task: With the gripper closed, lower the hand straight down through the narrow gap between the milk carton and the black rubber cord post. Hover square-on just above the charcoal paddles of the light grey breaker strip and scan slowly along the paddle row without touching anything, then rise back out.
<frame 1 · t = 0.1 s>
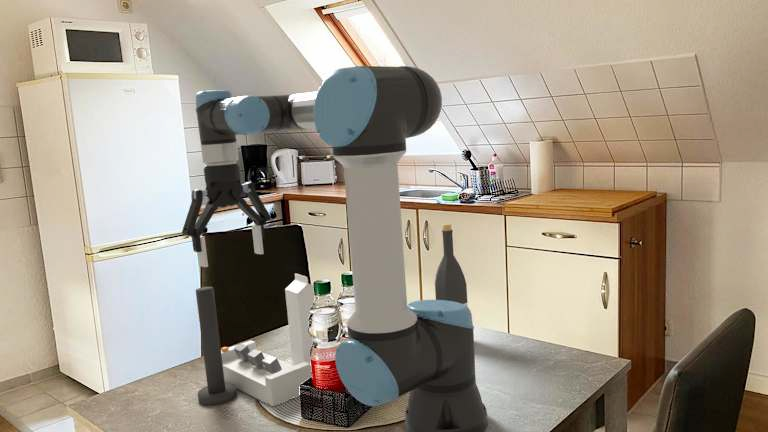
hand: (232, 259, 141), 28 cm above the table, fingers open, 13 cm apart
breaker strip: (262, 383, 143), on the table
wine bottle: (453, 343, 159), on the table
milk: (309, 366, 151), on the table
cord post: (217, 397, 138), on the table
paddle bank: (257, 359, 141), point 6 cm above the table, hinge at -20.0°
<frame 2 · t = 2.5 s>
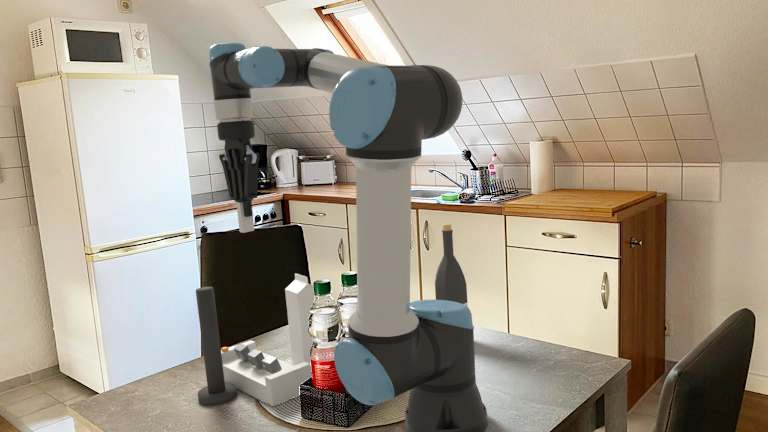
hand: (246, 231, 137), 35 cm above the table, fingers closed
nothing on the table moved.
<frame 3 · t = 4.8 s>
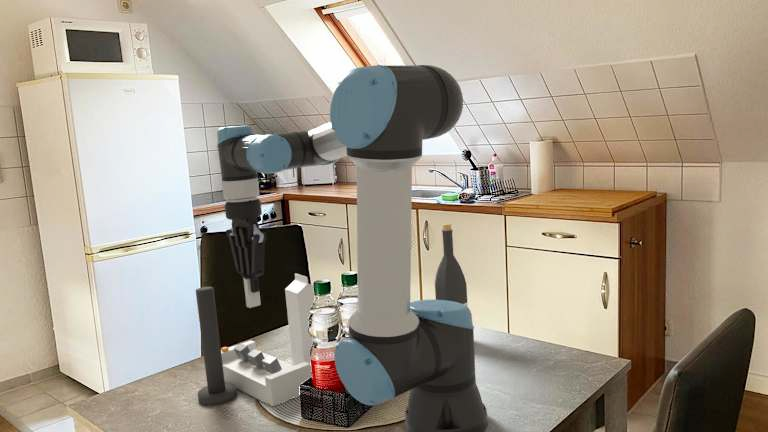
hand: (253, 305, 140), 18 cm above the table, fingers closed
nothing on the table moved.
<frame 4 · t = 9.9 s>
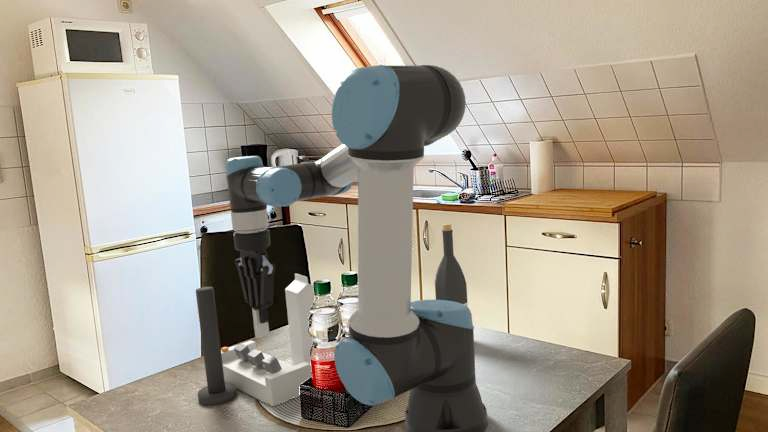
hand: (262, 335, 139), 12 cm above the table, fingers closed
nothing on the table moved.
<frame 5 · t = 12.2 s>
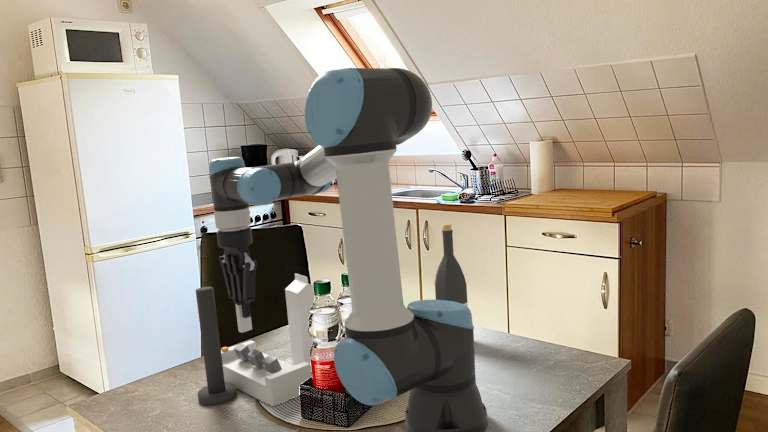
hand: (245, 330, 145), 11 cm above the table, fingers closed
nothing on the table moved.
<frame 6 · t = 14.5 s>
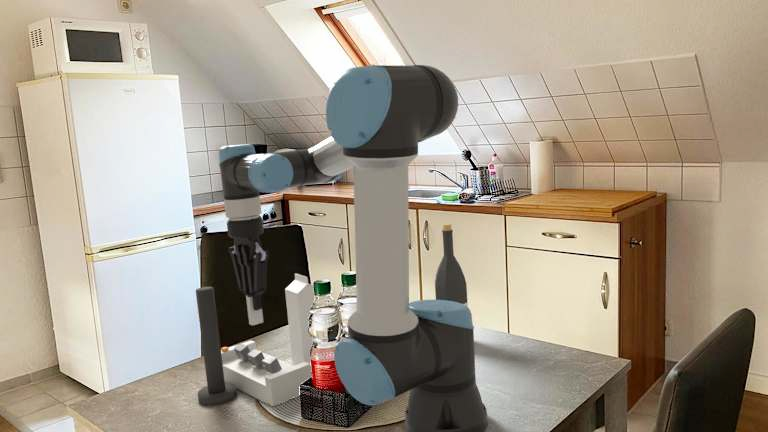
hand: (256, 323, 140), 14 cm above the table, fingers closed
nothing on the table moved.
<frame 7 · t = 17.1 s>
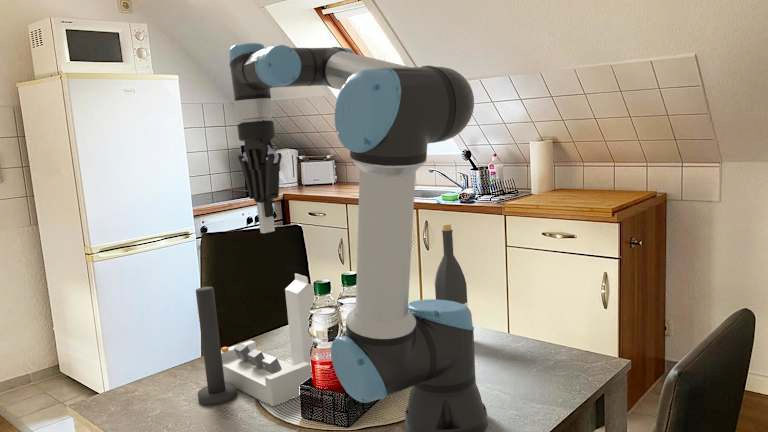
hand: (267, 231, 137), 34 cm above the table, fingers closed
nothing on the table moved.
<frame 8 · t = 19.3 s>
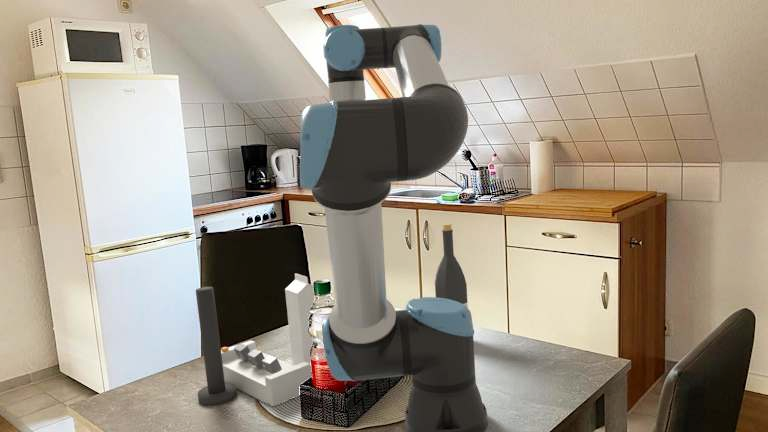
hand: (357, 214, 137), 36 cm above the table, fingers closed
nothing on the table moved.
at the end: milk moved 0.2 cm from its start; cord post moved 0.0 cm from its start; paddle bank at -20° (first picture: -20°) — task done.
